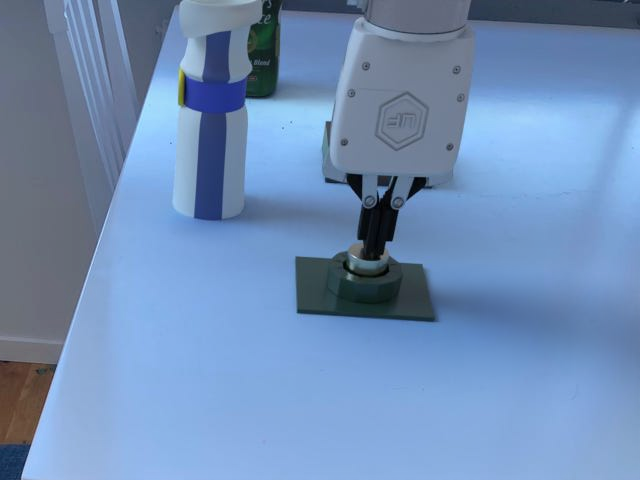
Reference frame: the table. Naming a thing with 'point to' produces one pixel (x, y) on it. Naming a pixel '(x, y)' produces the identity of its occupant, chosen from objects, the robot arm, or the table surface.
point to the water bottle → (213, 107)
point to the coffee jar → (264, 50)
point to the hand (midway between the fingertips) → (372, 247)
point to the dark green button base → (361, 290)
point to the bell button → (366, 262)
